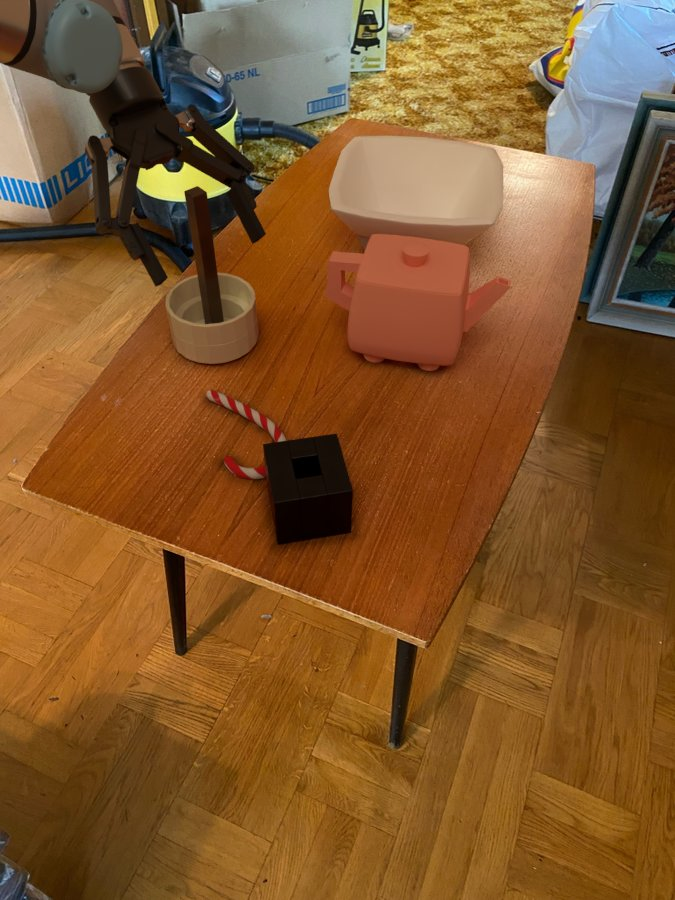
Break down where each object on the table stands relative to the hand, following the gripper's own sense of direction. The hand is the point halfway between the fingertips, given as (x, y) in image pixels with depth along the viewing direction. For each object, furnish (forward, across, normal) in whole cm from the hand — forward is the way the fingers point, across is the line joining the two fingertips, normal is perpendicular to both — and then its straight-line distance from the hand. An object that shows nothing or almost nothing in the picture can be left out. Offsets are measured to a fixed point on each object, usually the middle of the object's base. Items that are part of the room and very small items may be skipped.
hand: (212, 260), depth 82 cm
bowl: (+8, -37, -11) cm, 39 cm away
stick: (+7, 0, -10) cm, 13 cm away
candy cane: (+19, +8, 0) cm, 21 cm away
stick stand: (+28, +9, +10) cm, 31 cm away
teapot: (+20, -19, +1) cm, 27 cm away
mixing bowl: (+8, 0, -10) cm, 13 cm away
